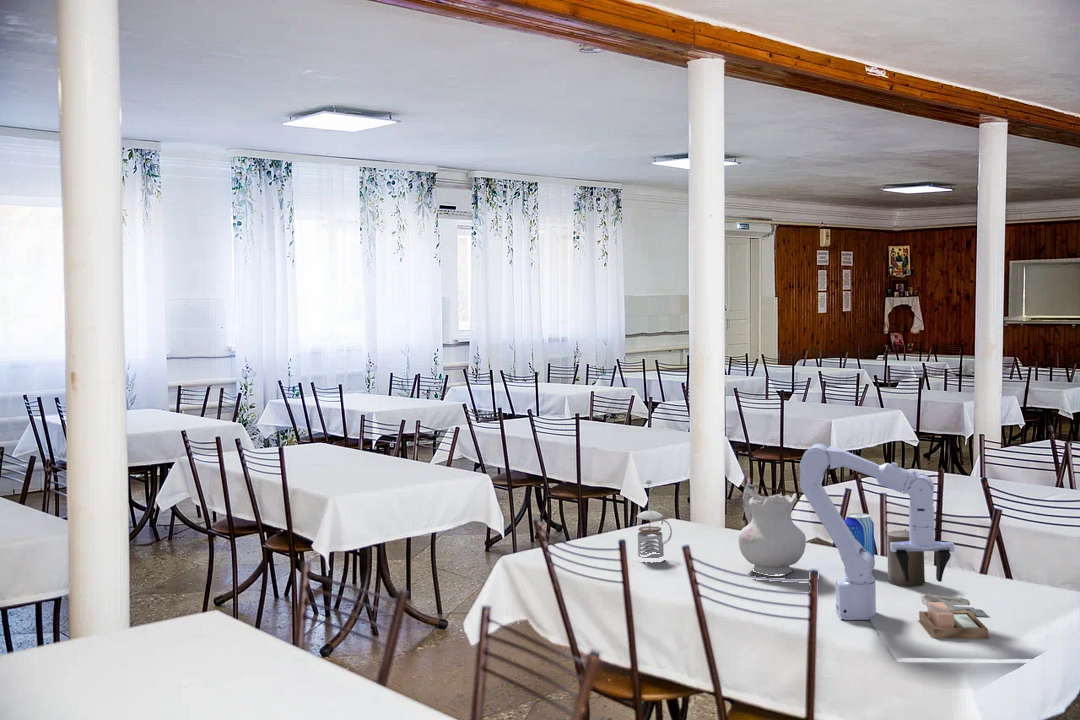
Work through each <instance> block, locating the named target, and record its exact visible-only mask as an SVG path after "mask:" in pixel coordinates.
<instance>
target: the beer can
mask: <svg viewBox="0 0 1080 720" xmlns="http://www.w3.org/2000/svg"><path fill="white" fill-rule="evenodd" d="M844 522H845V523H846V525H847V527H848V528H849V530H850V531H851V533H852V535H853V536H854V538H855V539H856V540H857V541H858V542H859V543H860V544H861V545H862V547H863V548H864V549H865V550H866V551H868V552H869V553H870V554H871V555H872V556H873V558H874V559H875V532H874V531H875V526H874V525H875V524H874V521H873V520H872V518H871V515H870V514H868V513H860V512H857V513H855V512H854V513H847V514H846V518H845V519H844Z"/></svg>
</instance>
